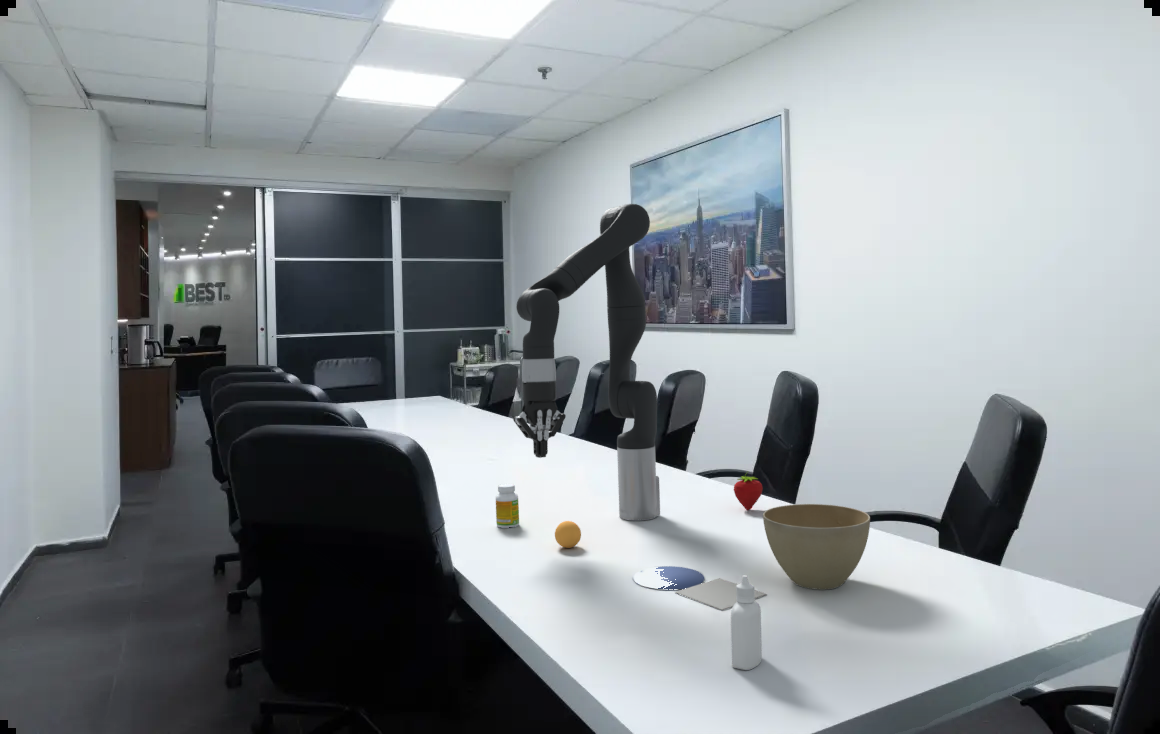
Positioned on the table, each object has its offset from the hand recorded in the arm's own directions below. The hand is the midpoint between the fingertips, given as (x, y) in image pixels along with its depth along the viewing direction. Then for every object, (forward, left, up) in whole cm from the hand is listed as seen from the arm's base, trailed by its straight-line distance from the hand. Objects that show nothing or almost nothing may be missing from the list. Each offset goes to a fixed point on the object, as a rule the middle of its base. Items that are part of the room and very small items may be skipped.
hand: (540, 457), depth 171 cm
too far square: (-2, +51, -18) cm, 54 cm away
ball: (+1, +10, -15) cm, 18 cm away
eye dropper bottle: (+15, +72, -18) cm, 76 cm away
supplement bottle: (+1, -15, -18) cm, 24 cm away
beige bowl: (-19, +58, -18) cm, 64 cm away
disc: (-1, +39, -18) cm, 43 cm away
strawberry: (-51, +14, -18) cm, 57 cm away
